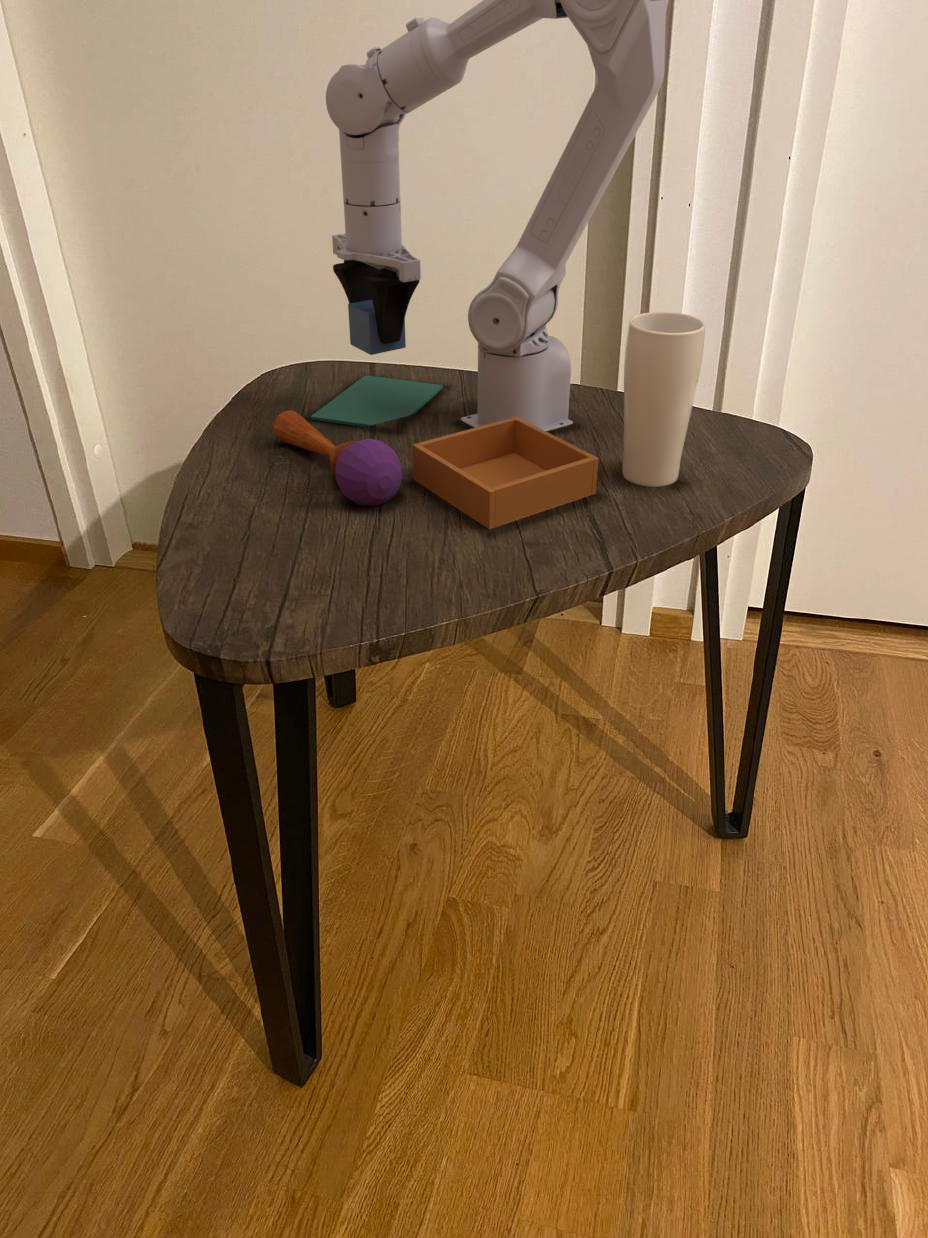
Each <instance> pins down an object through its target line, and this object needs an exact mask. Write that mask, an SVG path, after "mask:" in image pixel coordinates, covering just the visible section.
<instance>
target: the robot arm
mask: <svg viewBox="0 0 928 1238" xmlns="http://www.w3.org/2000/svg"><path fill="white" fill-rule="evenodd" d="M668 5H669V0H482V1H480V2H478V3H477V4H476V5H475V6H473V7H472V8H470V9H469V10H467V11H466V12H464V13H463V14H462V15H460V16H459V17H457V18H456V19H455V20H452V22H450V23H449V22H447V21H444V20H442V19H440V18H438V17H433V16H432V17H429V18H427V19H425V18H424V17H422V16H421V17H414V18H413V19H411V20H410V21H408V22H407V23H405V27H406V30H407V32H405V34H403V35H401V36H400V37H397V38H396V39H394V40H393V41H392V42H390V43H389V44H387V45H386V46H385V47H383V48H381V47H380V46H376V47H373V48H370V49H369V50H368V51H367V52H366V57H367V59H366V61H365V64H355V63H350V64H348V63H347V64H343V65H341V66H340V68H339V69H338V71H337V72H335V73H334V74H333V75H332V77H331V78H330V79H329V82H328V84H327V87H326V91H325V105H326V110H327V113H328V115H329V118H330V120H331V121H332V123H333V124H334V126H335V127H336V128H337V129H338V134H339V135H338V136H339V153H340V165H341V166H340V167H341V183H342V200H343V215H344V230H345V233H338V234H332V236H331V239H332V253H333V255H336V257H337V258H338V259H340V260H342V261H343V262H339V263H335V264H333V265H332V270H333V273H334V275H335V276H336V277H337V279H338V281H339V283H340V284H341V287H342V289H343V291H344V294H345V295H346V298H347V301H348V304H350V303H356V302H361V301H367V300H372V302H373V305H374V310H375V315H376V323H377V329H378V334H379V338H380V341H381V343H383V344H388V343H393V342H398V341H400V338H401V333H402V329H403V324H404V319H405V320H406V315H407V311H408V307H409V305H410V302H411V299H412V297H413V295H414V293H415V291H416V289H417V287H418V285H419V284H420V280H421V278H422V273H421V259H420V258H417V257H415V256H413V255H412V254H411V252H410V251H408V249H407V248H406V247H405V246H404V245H403V242H402V241H403V239H402V237H403V236H402V210H401V209H402V206H401V205H402V204H401V180H400V178H401V177H400V176H401V175H400V150H399V148H400V147H399V145H400V144H399V141H400V127H401V124H402V123H403V121H404V119H405V118H406V116H407V115H408V114H410V113H412V112H413V111H414V110H416V109H418V108H420V107H421V106H423V105H425V104H426V103H428V102H430V101H432V100H433V99H435V98H437V97H438V96H440V95H442V94H443V93H445V92H446V91H448V90H450V89H451V88H453V87H455V86H457V85H458V84H460V83H461V82H462V81H463V79H464V76H465V73H466V70H467V66H468V62H469V60H470V59H472V58H473V57H476V56H477V55H478V54H481V53H483V52H484V51H486V50H488V49H490V48H491V47H494V46H495V45H497V44H499V43H501V42H502V41H505V40H506V39H508V38H509V37H512V36H513V35H515V34H517V33H519V32H520V31H523V30H524V29H526V28H528V27H530V26H531V25H533V24H535V23H537V22H539V21H541V20H542V19H551V20H557V19H569V21H570V23H571V24H572V25H573V26H574V28H575V29H576V31H577V32H578V34H579V35H580V36H581V38H582V40H583V41H584V42H585V44H586V45H587V48H588V52H589V55H590V58H591V62H592V65H593V68H594V71H595V75H596V78H597V82H596V85H595V87H594V89H593V91H592V94H591V95H590V98H589V99H588V101H587V103H586V105H585V106H584V109H583V111H582V113H581V116H580V118H579V119H578V122H577V124H576V125H575V128H574V130H573V132H572V134H571V136H570V138H569V140H568V142H567V143H566V146H565V148H564V150H563V151H562V154H561V155H560V158H559V160H558V161H557V163H556V166H555V168H554V170H553V171H552V174H551V176H550V177H549V180H548V181H547V184H546V186H545V188H544V190H543V192H542V194H541V196H540V198H539V200H538V201H537V203H536V206H535V208H534V210H533V212H532V214H531V216H530V218H529V220H528V222H527V224H526V226H525V228H524V230H523V232H522V234H521V236H520V238H519V241H518V242H517V244H516V246H515V247H514V249H513V250H512V251H511V253H510V254H509V256H508V257H507V258H506V259H505V260H504V262H502V264H501V265H500V267H499V268H498V270H497V271H496V273H495V275H494V276H493V279H492V281H491V282H490V283H489V284H488V285H487V286H486V287H484V288H483V289H482V290H481V291H479V292H478V293H477V294H476V295H475V296H474V297H473V299H472V300H471V302H470V304H469V307H468V311H467V322H468V328H469V330H470V332H471V335H472V336H473V338H474V340H475V341H476V342H477V398H476V399H477V403H476V407H477V408H476V410H477V412H476V413H474V414H470V415H467V416H462V417H461V418H460V421H461V422H462V423H465V424H466V425H468V426H470V427H472V428H476V427H480V426H483V425H487V424H491V423H494V422H498V421H502V420H505V419H509V418H513V417H518V418H520V419H522V420H524V421H526V422H528V423H530V424H532V425H534V426H536V427H538V428H540V429H542V430H544V431H546V432H549V431H553V430H556V429H557V430H558V429H560V428H564V427H567V426H571V425H573V424H574V423H573V422H574V421H573V420H571V419H569V411H570V410H569V409H570V396H571V395H570V394H571V377H572V364H571V357H570V354H569V351H568V350H567V349H568V348H567V347H566V345H565V344H564V343H563V342H562V341H561V340H560V339H559V338H557V337H556V336H553V335H549V334H548V330H547V324H549V323H550V322H551V320H552V319H553V318H554V316H555V314H556V312H557V310H558V304H559V293H560V292H559V290H560V287H561V285H562V283H563V281H564V280H565V277H566V274H567V271H566V270H567V269H566V265H567V262H568V260H569V259H570V256H571V255H572V253H573V251H574V249H575V247H576V245H577V244H578V242H579V240H580V239H581V236H582V234H583V233H584V231H585V229H586V227H587V225H588V223H589V221H590V220H591V217H592V216H593V214H594V212H595V210H596V209H597V207H598V205H599V203H600V201H601V200H602V198H603V195H604V194H605V192H606V190H607V188H608V186H609V185H610V182H611V181H612V179H613V178H614V175H615V174H616V171H617V170H618V168H619V166H620V164H621V162H622V160H623V159H624V156H625V155H626V153H627V151H628V149H629V148H630V146H631V144H632V141H633V140H634V138H635V136H636V134H637V132H638V131H639V129H640V127H641V126H642V123H643V121H644V119H645V118H646V117H647V114H648V112H649V110H650V108H651V107H652V105H653V103H654V101H655V100H656V98H657V96H658V94H659V92H660V91H661V87H662V85H663V82H664V78H665V64H666V63H665V61H666V60H665V58H666V25H667V24H666V19H667V9H668Z"/></svg>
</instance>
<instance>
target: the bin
mask: <svg viewBox="0 0 928 1238" xmlns="http://www.w3.org/2000/svg"><path fill="white" fill-rule="evenodd" d="M598 469H599V457H598V456H596V455H594V454H591V453H590V452H587V451H585V450H584V449H582V448H579V447H577V446H576V445H574V444H571V443H570V442H568V441H566V440H564V439H562V438H560V437H558V436H556V435H554V434H552V433H550V432H549V431H544V430H542V429H540V428H538V427H536V426H534V425H532V424H530V423H528V422H526V421H524V420H522V419H520V418H518V417H513V418H509V419H505V420H502V421H498V422H494V423H491V424H487V425H483V426H480V427H476V428H474V427H472V428H469V429H464V430H462V431H458V432H454V433H450V434H447V435H443V436H439V437H435V438H432V439H428V440H424V441H421V442H417V443H414V444H412V475H413V476H412V477H413V481H415V482H416V483H418V484H420V485H421V486H423V487H424V488H425V489H427V490H429V491H430V492H431V493H433V494H434V495H436V496H438V497H439V498H441V499H442V500H444V501H445V502H447V503H448V504H450V505H452V506H453V507H454V508H456V509H457V510H459V511H460V512H462V513H463V514H465V515H467V516H468V517H469V518H471V519H473V520H475V521H476V522H477V523H478V524H480V525H482V526H484V527H485V528H487V529H488V530H491V529H495V528H497V527H501V526H503V525H506V524H509V523H513V522H515V521H518V520H521V519H524V518H527V517H530V516H533V515H536V514H538V513H539V514H540V513H542V512H545V511H548V510H551V509H554V508H557V507H560V506H562V505H563V506H564V505H565V504H569V503H572V502H575V501H578V500H581V499H583V498H587V497H590V496H592V495H596V493H597V482H598Z"/></svg>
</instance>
